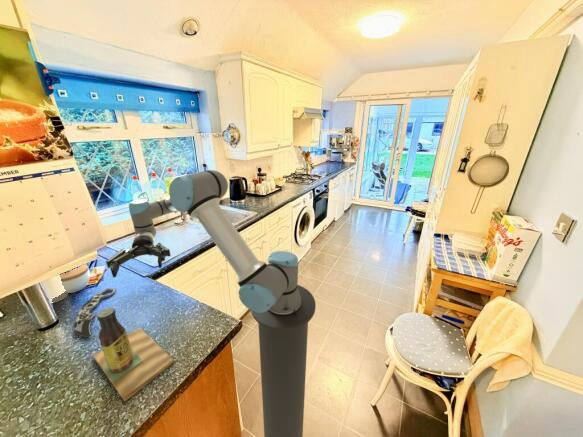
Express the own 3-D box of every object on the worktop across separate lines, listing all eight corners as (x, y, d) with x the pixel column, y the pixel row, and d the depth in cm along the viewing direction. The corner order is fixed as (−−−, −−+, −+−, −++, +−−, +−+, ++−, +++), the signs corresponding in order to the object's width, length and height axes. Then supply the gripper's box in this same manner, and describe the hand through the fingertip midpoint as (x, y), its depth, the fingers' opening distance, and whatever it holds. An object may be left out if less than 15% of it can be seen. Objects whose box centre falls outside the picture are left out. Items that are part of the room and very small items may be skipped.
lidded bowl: (78, 297, 102) (69, 275, 98) (49, 296, 102) (39, 275, 98) (100, 279, 114) (93, 260, 110) (74, 279, 114) (66, 259, 110)
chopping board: (173, 362, 75) (172, 358, 74) (124, 402, 64) (123, 397, 63) (140, 330, 86) (139, 326, 86) (94, 358, 75) (93, 355, 75)
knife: (91, 334, 83) (55, 340, 80) (92, 338, 83) (57, 344, 80) (119, 286, 108) (93, 289, 105) (119, 289, 108) (93, 292, 105)
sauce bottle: (126, 373, 69) (108, 322, 62) (104, 374, 69) (83, 322, 62) (138, 353, 75) (123, 304, 68) (118, 354, 75) (101, 305, 68)
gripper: (177, 245, 105) (178, 269, 87) (110, 257, 95) (95, 287, 77) (174, 230, 102) (175, 251, 84) (104, 240, 92) (88, 268, 74)
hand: (137, 269), depth 81 cm, fingers open, 13 cm apart
